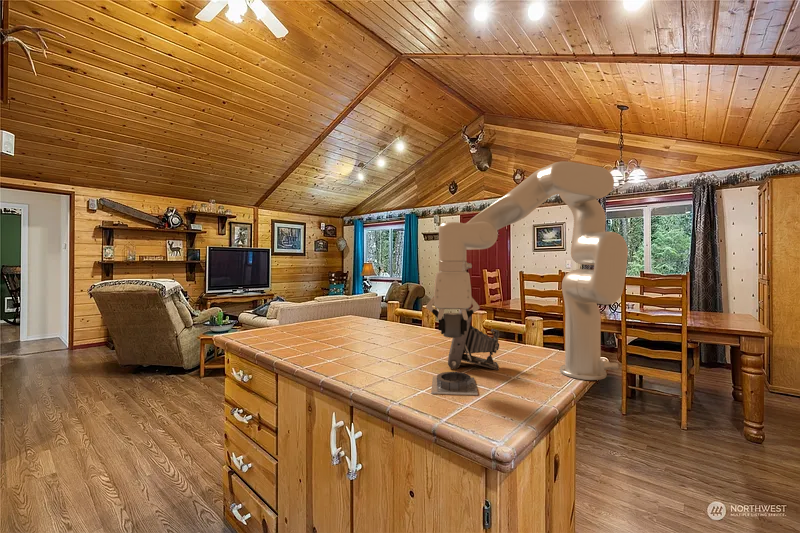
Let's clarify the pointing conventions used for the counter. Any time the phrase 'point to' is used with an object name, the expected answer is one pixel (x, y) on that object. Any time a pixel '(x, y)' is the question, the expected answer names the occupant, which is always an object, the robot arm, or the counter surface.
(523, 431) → the counter surface
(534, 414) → the counter surface
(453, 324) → the dark grey cylinder
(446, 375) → the mount
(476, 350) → the camera
